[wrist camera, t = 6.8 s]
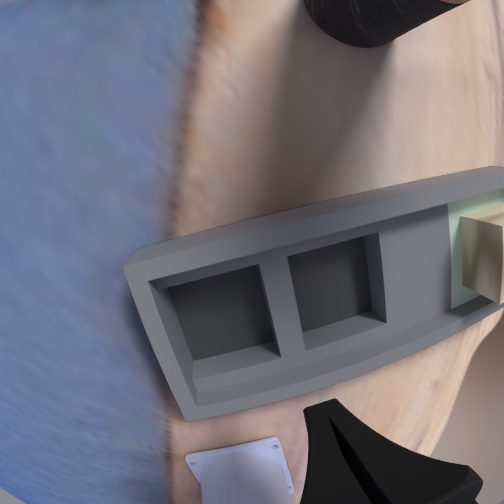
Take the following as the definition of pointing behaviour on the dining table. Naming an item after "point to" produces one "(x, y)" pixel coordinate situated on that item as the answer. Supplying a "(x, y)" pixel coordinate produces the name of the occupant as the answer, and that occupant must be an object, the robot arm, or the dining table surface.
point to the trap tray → (310, 292)
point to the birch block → (484, 252)
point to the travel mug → (374, 18)
